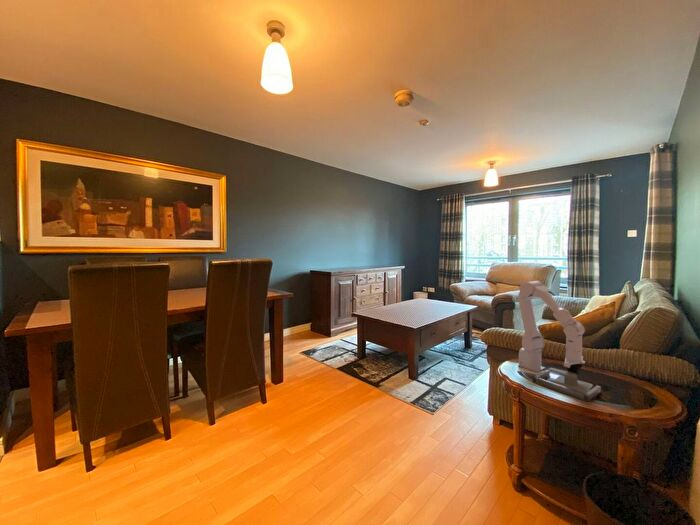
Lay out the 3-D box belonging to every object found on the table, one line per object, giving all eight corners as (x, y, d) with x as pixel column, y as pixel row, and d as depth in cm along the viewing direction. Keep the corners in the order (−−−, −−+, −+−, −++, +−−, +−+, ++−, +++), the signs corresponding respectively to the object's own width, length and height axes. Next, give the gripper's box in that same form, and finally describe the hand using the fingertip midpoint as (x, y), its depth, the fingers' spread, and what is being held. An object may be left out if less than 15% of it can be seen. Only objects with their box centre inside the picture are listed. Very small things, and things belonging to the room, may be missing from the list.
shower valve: (553, 364, 139) (593, 374, 127) (553, 375, 139) (593, 386, 128) (544, 371, 131) (585, 383, 120) (544, 383, 132) (585, 396, 120)
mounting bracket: (532, 382, 132) (532, 376, 132) (546, 374, 139) (546, 369, 139) (587, 401, 115) (587, 395, 115) (600, 392, 122) (600, 386, 122)
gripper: (577, 355, 123) (577, 386, 124) (591, 348, 131) (590, 378, 132) (558, 351, 129) (558, 380, 130) (572, 344, 137) (572, 372, 138)
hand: (573, 379), depth 131 cm, fingers closed
